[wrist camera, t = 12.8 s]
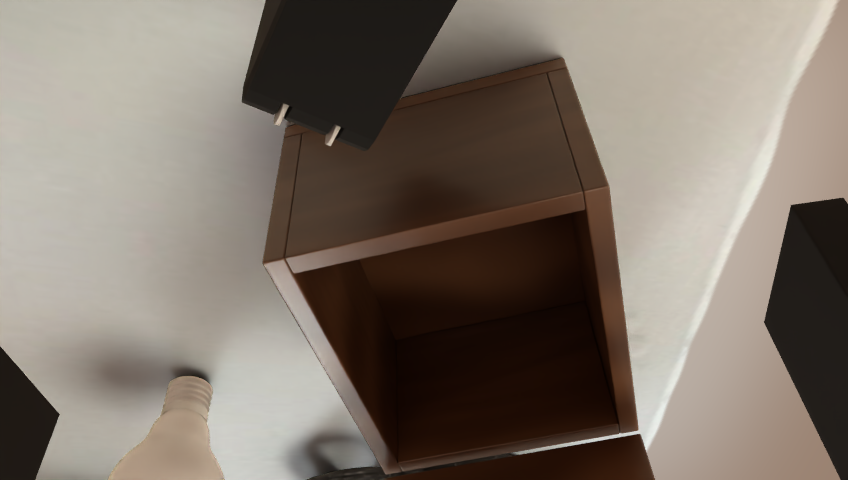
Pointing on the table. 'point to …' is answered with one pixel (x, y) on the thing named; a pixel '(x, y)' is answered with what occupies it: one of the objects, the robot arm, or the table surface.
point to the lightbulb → (175, 439)
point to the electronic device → (339, 62)
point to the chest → (460, 272)
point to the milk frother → (374, 476)
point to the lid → (557, 464)
